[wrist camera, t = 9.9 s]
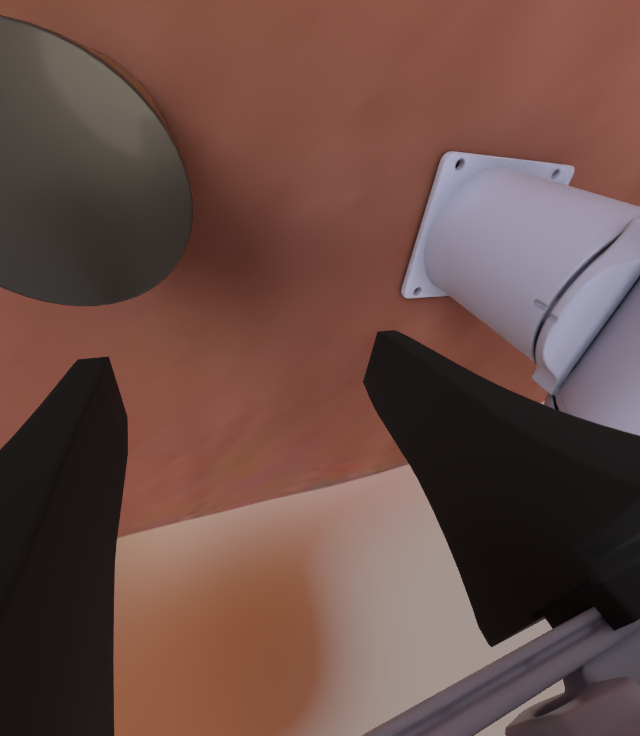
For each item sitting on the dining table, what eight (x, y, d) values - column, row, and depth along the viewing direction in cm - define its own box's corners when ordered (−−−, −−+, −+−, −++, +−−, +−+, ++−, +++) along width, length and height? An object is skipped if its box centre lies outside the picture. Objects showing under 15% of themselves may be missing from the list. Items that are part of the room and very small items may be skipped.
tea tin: (165, 53, 12) (178, 48, 7) (184, 221, 15) (202, 300, 10) (-45, 16, 10) (-249, -32, 5) (31, 218, 13) (-40, 314, 8)
